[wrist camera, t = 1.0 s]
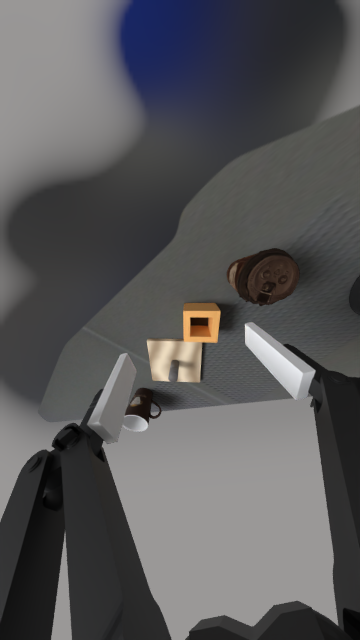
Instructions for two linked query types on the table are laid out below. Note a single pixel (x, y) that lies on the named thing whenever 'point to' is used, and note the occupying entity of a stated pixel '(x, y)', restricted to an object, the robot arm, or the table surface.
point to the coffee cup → (264, 276)
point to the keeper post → (175, 360)
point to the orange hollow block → (201, 332)
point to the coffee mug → (139, 411)
